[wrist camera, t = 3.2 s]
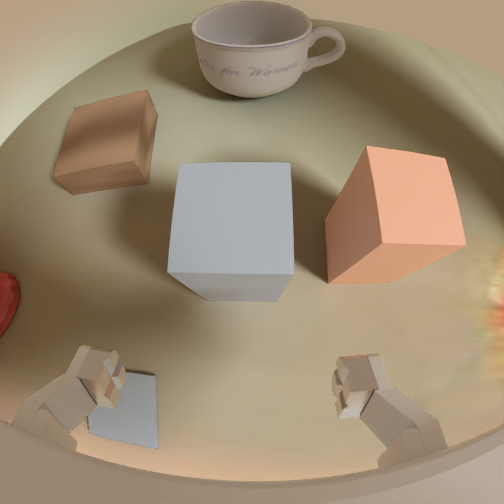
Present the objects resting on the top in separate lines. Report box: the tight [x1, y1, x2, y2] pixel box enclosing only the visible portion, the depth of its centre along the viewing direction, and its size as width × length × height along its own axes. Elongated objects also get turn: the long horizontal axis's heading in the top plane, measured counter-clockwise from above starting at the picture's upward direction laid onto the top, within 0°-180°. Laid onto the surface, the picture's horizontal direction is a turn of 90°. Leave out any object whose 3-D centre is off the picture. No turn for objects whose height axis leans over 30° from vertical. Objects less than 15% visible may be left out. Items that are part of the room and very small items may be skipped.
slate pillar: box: [167, 162, 294, 302], centre depth 17 cm, size 5×5×10 cm
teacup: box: [191, 1, 346, 98], centre depth 23 cm, size 14×11×8 cm
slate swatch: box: [88, 371, 158, 449], centre depth 19 cm, size 6×6×1 cm
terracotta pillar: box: [325, 146, 466, 284], centre depth 17 cm, size 5×5×10 cm
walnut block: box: [53, 90, 158, 195], centre depth 23 cm, size 8×8×4 cm
